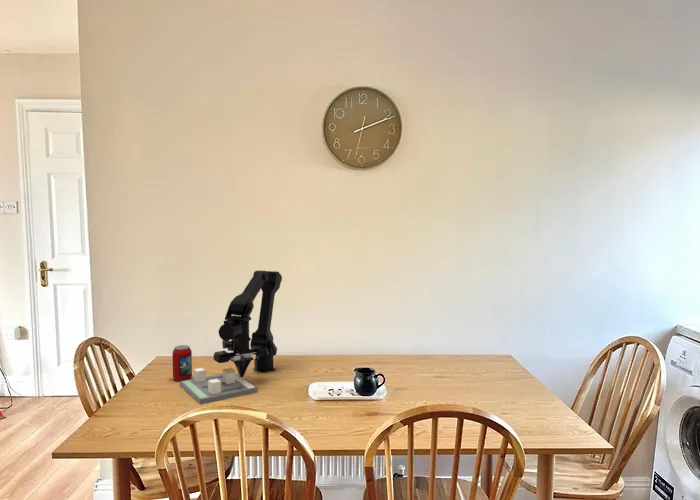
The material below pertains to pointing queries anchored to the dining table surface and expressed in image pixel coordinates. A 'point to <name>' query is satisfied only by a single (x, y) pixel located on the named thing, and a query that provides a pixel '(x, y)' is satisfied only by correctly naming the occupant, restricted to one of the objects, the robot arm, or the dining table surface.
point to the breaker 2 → (214, 386)
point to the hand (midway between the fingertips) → (241, 377)
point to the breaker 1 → (199, 375)
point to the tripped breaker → (229, 375)
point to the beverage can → (182, 363)
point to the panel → (227, 390)
